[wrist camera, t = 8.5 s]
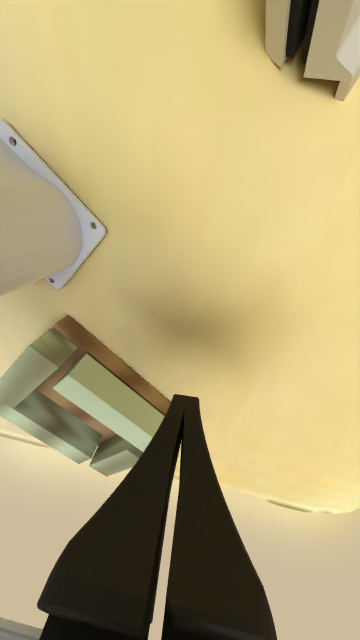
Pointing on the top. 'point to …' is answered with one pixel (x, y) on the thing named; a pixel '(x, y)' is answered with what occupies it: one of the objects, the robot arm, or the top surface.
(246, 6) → the top surface
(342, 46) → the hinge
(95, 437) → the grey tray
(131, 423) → the hinged leg
